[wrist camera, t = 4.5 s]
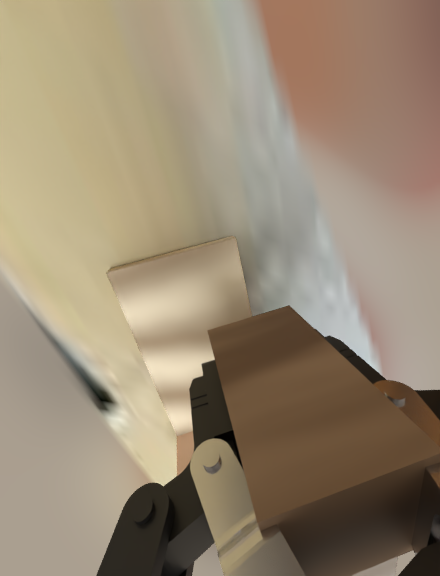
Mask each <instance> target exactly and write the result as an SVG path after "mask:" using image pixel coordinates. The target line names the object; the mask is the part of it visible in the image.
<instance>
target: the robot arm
mask: <svg viewBox="0 0 440 576" xmlns="http://www.w3.org/2000/svg"><path fill="white" fill-rule="evenodd" d="M315 330H316V329H315ZM316 331H317V330H316ZM317 332H318V331H317ZM318 333H319V334H320V335H321V336H322V337H323V338H324V339H325V340H326V341H328V342H329V343H330V344H331V345H332V346H333V347H334V348H335V349H336V350H337V351H338V352H339V353H340V354H341V355H342V356H343V357H345V358H346V359H347V360H348V361H349V362H350V363H351V364H352V365H353V366H354V367H355V368H356V369H357V370H358V371H359V372H361V373H362V374H363V375H364V376H365V377H366V378H367V379H368V380H369V381H370V382H371V383H372V384H373V385H374V386H375V387H376V388H378V389H379V390H380V391H381V392H382V393H383V394H384V395H385V396H386V397H387V398H388V399H389V400H390V401H391V402H392V403H393V404H395V405H396V406H397V407H398V408H399V409H400V410H401V411H402V412H403V413H404V414H405V415H406V416H407V417H408V418H409V419H411V420H412V421H413V422H414V423H415V424H416V425H417V426H418V427H419V428H420V429H421V430H422V431H423V432H424V433H425V434H426V435H428V436H429V437H430V438H431V439H432V440H433V441H434V442H435V443H436V444H437V445H438V446H439V447H440V390H423V391H422V390H421V391H418V390H413V389H412V388H411V387H409V386H407V385H405V384H403V383H400V382H397V381H392V380H386V379H385V378H384V377H383V376H381V375H380V374H379V373H378V372H377V371H376V370H374V369H373V368H372V367H371V366H370V365H369V364H367V363H366V362H365V361H364V360H363V359H362V358H361V357H359V356H357V355H356V353H355V352H354V351H352V350H351V349H349V347H348V346H347V345H345V344H344V343H343V342H342V341H341V340H338V339H336V338H334V337H331V336H327V337H324V336H323V335H322V334H321V333H320V332H318ZM201 365H202V371H203V376H201V377H197V378H194V379H193V380H192V383H191V386H190V388H189V392H190V404H191V415H192V426H193V438H194V452H193V455H192V458H191V460H190V462H189V464H188V465H187V467H186V468H185V469H184V470H183V472H181V473H180V474H179V475H178V476H177V477H175V478H174V479H173V480H171V481H170V482H169V483H167V484H166V485H165V486H162V485H161V484H158V483H148V484H145V485H144V486H142V487H140V488H139V489H137V490H136V491H135V492H134V493H133V494H132V495H131V497H130V498H129V499H128V501H127V502H126V504H125V506H124V508H123V510H122V513H121V515H120V518H119V520H118V523H117V525H116V528H115V530H114V533H113V535H112V538H111V540H110V543H109V545H108V548H107V551H106V553H105V555H104V558H103V560H102V563H101V565H100V568H99V570H98V573H97V576H192V572H193V565H194V561H195V560H196V559H197V558H198V557H200V556H201V554H203V553H204V552H205V551H206V550H207V549H208V548H209V547H210V546H211V545H212V544H213V543H214V542H215V545H216V547H217V551H218V557H219V560H220V564H221V567H222V570H223V573H224V576H305V574H304V572H303V570H302V568H301V567H300V565H299V563H298V561H297V560H296V558H295V556H294V554H293V552H292V551H291V549H290V547H289V545H288V543H287V542H286V540H285V538H284V536H283V535H282V533H281V531H280V529H279V528H278V526H277V524H276V525H273V526H271V527H269V528H266V529H264V530H262V531H260V530H259V526H258V523H257V520H256V516H255V512H254V508H253V504H252V500H251V497H250V493H249V489H248V485H247V481H246V477H245V473H244V470H243V466H242V462H241V458H240V454H239V450H238V447H237V443H236V439H235V435H234V431H233V427H232V423H231V420H230V416H229V412H228V408H227V404H226V400H225V397H224V393H223V389H222V385H221V381H220V377H219V373H218V370H217V366H216V362H215V360H212V361H209V362H205V363H202V364H201ZM411 546H412V548H413V550H414V553H415V555H416V556H415V557H414V558H413V559H412V561H410V563H409V564H408V565H407V566H406V567H405V568H404V570H403V571H402V572H401V573H400V574H399V575H398V576H440V462H439V463H436V464H433V465H430V466H427V467H425V472H424V477H423V483H422V488H421V494H420V499H419V505H418V510H417V516H416V521H415V527H414V532H413V538H412V543H411Z"/></svg>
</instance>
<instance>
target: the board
mask: <svg viewBox="0 0 440 576" xmlns="http://www.w3.org/2000/svg"><path fill="white" fill-rule="evenodd" d="M106 274H107V276H108V278H109V281H110V283H111V285H112V287H113V290H114V292H115V294H116V297H117V299H118V301H119V304H120V306H121V308H122V311H123V313H124V315H125V318H126V320H127V322H128V325H129V327H130V329H131V331H132V334H133V336H134V338H135V341H136V343H137V345H138V348H139V350H140V352H141V355H142V357H143V359H144V362H145V364H146V366H147V369H148V371H149V373H150V375H151V378H152V380H153V382H154V385H155V387H156V389H157V392H158V394H159V396H160V399H161V401H162V403H163V406H164V408H165V410H166V412H167V415H168V417H169V419H170V422H171V424H172V426H173V429H174V431H175V433H176V436H179V435H182V434H185V433H188V432H191V431H193V426H192V415H191V404H190V392H189V388H190V386H191V383H192V380H193V379H194V378H197V377H201V376H203V371H202V365H201V364H202V363H205V362H209V361H212V360H215V358H214V354H213V350H212V347H211V343H210V339H209V335H208V331H207V330H210V329H213V328H217V327H220V326H223V325H226V324H230V323H233V322H236V321H240V320H243V319H246V318H250V317H252V313H251V309H250V304H249V299H248V294H247V289H246V285H245V280H244V275H243V270H242V265H241V261H240V256H239V251H238V246H237V241H236V238H235V237H233V236H230V237H226V238H223V239H219V240H215V241H211V242H208V243H204V244H200V245H197V246H193V247H189V248H185V249H182V250H178V251H174V252H171V253H167V254H163V255H159V256H156V257H152V258H148V259H145V260H141V261H137V262H134V263H130V264H126V265H122V266H119V267H115V268H111V269H110V270H109V271H108V272H107V273H106Z"/></svg>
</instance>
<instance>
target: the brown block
mask: <svg viewBox="0 0 440 576" xmlns="http://www.w3.org/2000/svg"><path fill="white" fill-rule="evenodd" d="M207 331H208V335H209V339H210V343H211V347H212V350H213V354H214V358H215V362H216V366H217V370H218V373H219V377H220V381H221V385H222V389H223V393H224V397H225V400H226V404H227V408H228V412H229V416H230V420H231V423H232V427H233V431H234V435H235V439H236V443H237V447H238V450H239V454H240V458H241V462H242V466H243V470H244V473H245V477H246V481H247V485H248V489H249V493H250V497H251V500H252V504H253V508H254V512H255V516H256V520H257V523H258V526H259V530H260V531H262V530H264V529H266V528H269V527H271V526H273V525H276V524H277V526H278V528H279V529H280V531H281V533H282V535H283V536H284V538H285V540H286V542H287V543H288V545H289V547H290V549H291V551H292V552H293V554H294V556H295V558H296V560H297V561H298V563H299V565H300V567H301V568H302V570H303V572H304V574H305V576H395V574H396V567H397V560H398V556H400V555H402V554H405V553H407V552H410V551H412V550H413V548H412V546H411V543H412V538H413V532H414V527H415V521H416V516H417V510H418V505H419V499H420V494H421V488H422V483H423V477H424V472H425V467H427V466H430V465H433V464H436V463H439V462H440V447H439V446H438V445H437V444H436V443H435V442H434V441H433V440H432V439H431V438H430V437H429V436H428V435H426V434H425V433H424V432H423V431H422V430H421V429H420V428H419V427H418V426H417V425H416V424H415V423H414V422H413V421H412V420H411V419H409V418H408V417H407V416H406V415H405V414H404V413H403V412H402V411H401V410H400V409H399V408H398V407H397V406H396V405H395V404H393V403H392V402H391V401H390V400H389V399H388V398H387V397H386V396H385V395H384V394H383V393H382V392H381V391H380V390H379V389H378V388H376V387H375V386H374V385H373V384H372V383H371V382H370V381H369V380H368V379H367V378H366V377H365V376H364V375H363V374H362V373H361V372H359V371H358V370H357V369H356V368H355V367H354V366H353V365H352V364H351V363H350V362H349V361H348V360H347V359H346V358H345V357H343V356H342V355H341V354H340V353H339V352H338V351H337V350H336V349H335V348H334V347H333V346H332V345H331V344H330V343H329V342H328V341H326V340H325V339H324V338H323V337H322V336H321V335H320V334H319V333H318V332H317V331H316V330H315V329H314V328H313V327H312V326H311V325H309V324H308V323H307V322H306V321H305V320H304V319H303V318H302V317H301V316H300V315H299V314H298V313H297V312H296V311H295V310H293V309H292V308H291V307H290V306H286V307H283V308H279V309H276V310H273V311H269V312H266V313H263V314H259V315H256V316H253V317H250V318H246V319H243V320H240V321H236V322H233V323H230V324H226V325H223V326H220V327H217V328H213V329H210V330H207Z"/></svg>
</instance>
